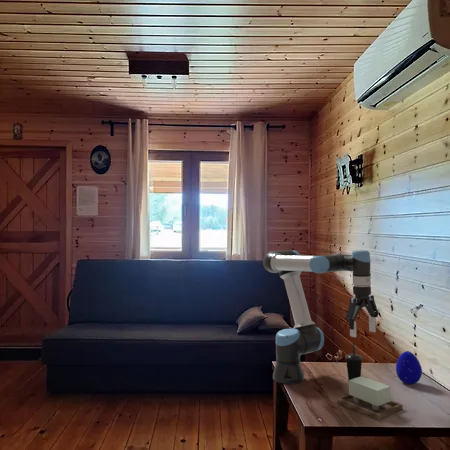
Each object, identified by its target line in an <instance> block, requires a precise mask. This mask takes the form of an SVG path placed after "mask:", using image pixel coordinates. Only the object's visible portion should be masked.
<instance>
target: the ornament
mask: <svg viewBox="0 0 450 450" xmlns="http://www.w3.org/2000/svg"><path fill="white" fill-rule="evenodd" d="M422 369H423V368H422V366H421V362H420V360H419V358H418V357H417V356H416V355H415V354H414V353H413V352H411V351H409V350H406V351H404V352H402V353H400V355H399V357H398V359H397V360H396V365H395V372H396V376H397V377H398V379H399V380H400V382H402V383H404V384H407V385H414V384H416V383H418V382H419V381H420V380H421V378H422V375H423V370H422Z"/></svg>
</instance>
